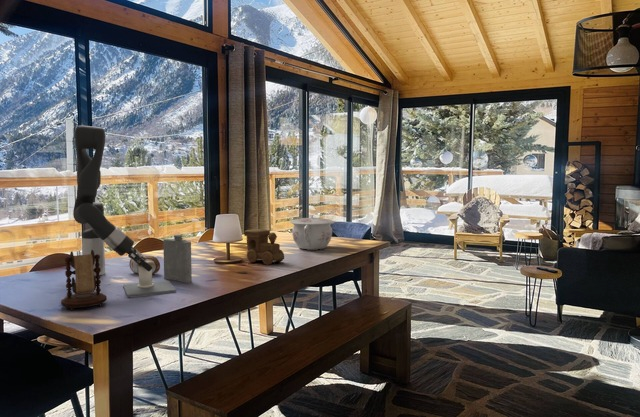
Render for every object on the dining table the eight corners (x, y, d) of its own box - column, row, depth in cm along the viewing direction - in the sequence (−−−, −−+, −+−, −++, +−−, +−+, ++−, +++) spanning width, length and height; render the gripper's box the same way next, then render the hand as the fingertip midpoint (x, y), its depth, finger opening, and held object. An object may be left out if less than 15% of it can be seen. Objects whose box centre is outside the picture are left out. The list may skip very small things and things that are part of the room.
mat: (123, 286, 202) (123, 284, 202) (168, 282, 210) (168, 280, 210) (127, 297, 186) (127, 294, 186) (175, 292, 194) (175, 289, 194)
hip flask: (162, 278, 219) (161, 233, 217) (169, 276, 222) (168, 232, 220) (187, 282, 210) (186, 236, 208) (194, 281, 214) (193, 235, 212)
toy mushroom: (137, 288, 195) (137, 264, 195) (137, 285, 201) (136, 261, 200) (154, 287, 198) (154, 262, 197) (153, 283, 204) (152, 260, 203)
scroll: (64, 314, 165) (62, 255, 163) (58, 304, 177) (55, 249, 175) (111, 307, 174) (109, 251, 172) (101, 297, 186) (100, 245, 184)
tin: (160, 274, 227) (160, 256, 226) (156, 275, 224) (156, 257, 223) (132, 272, 231) (132, 254, 231) (128, 273, 228) (128, 255, 227)
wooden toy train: (243, 261, 257) (242, 230, 256) (257, 258, 266) (257, 228, 265) (272, 266, 246) (272, 233, 244) (286, 262, 255) (286, 231, 254)
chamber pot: (315, 243, 320) (315, 211, 318) (343, 249, 298) (344, 215, 297) (280, 247, 302) (280, 214, 300) (307, 254, 281) (307, 218, 279)
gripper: (126, 237, 188) (158, 264, 194) (124, 232, 201) (154, 257, 207) (112, 251, 187) (144, 278, 193) (111, 245, 200) (141, 271, 205)
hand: (149, 267), depth 200 cm, fingers open, 8 cm apart
